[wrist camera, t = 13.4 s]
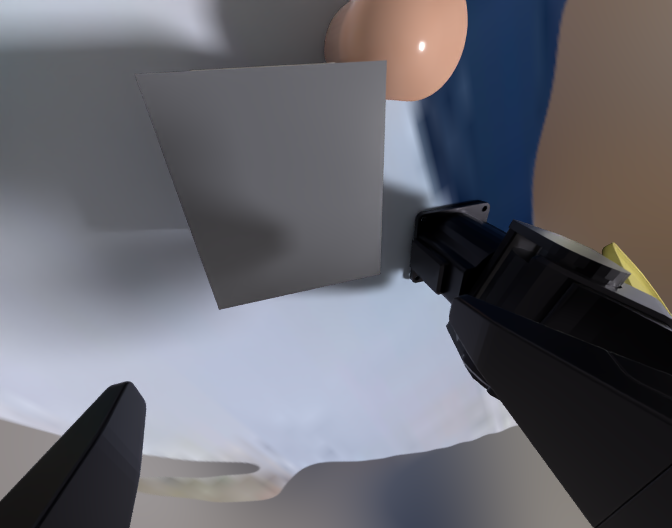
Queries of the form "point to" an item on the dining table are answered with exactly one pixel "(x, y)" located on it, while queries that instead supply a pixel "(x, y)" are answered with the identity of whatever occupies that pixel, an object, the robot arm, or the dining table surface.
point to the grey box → (276, 171)
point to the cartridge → (401, 41)
